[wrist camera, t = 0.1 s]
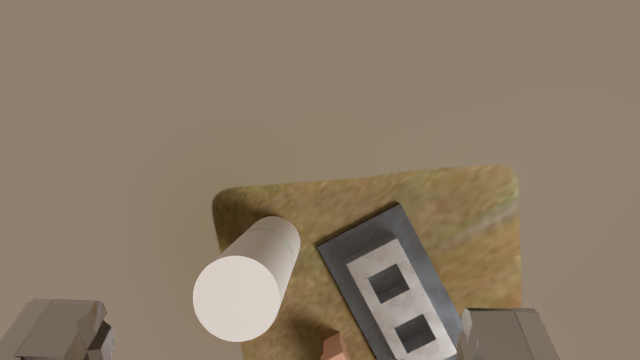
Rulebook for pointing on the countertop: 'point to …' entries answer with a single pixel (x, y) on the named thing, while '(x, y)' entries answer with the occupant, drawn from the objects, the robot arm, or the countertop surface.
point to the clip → (335, 348)
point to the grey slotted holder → (393, 289)
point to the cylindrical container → (247, 281)
